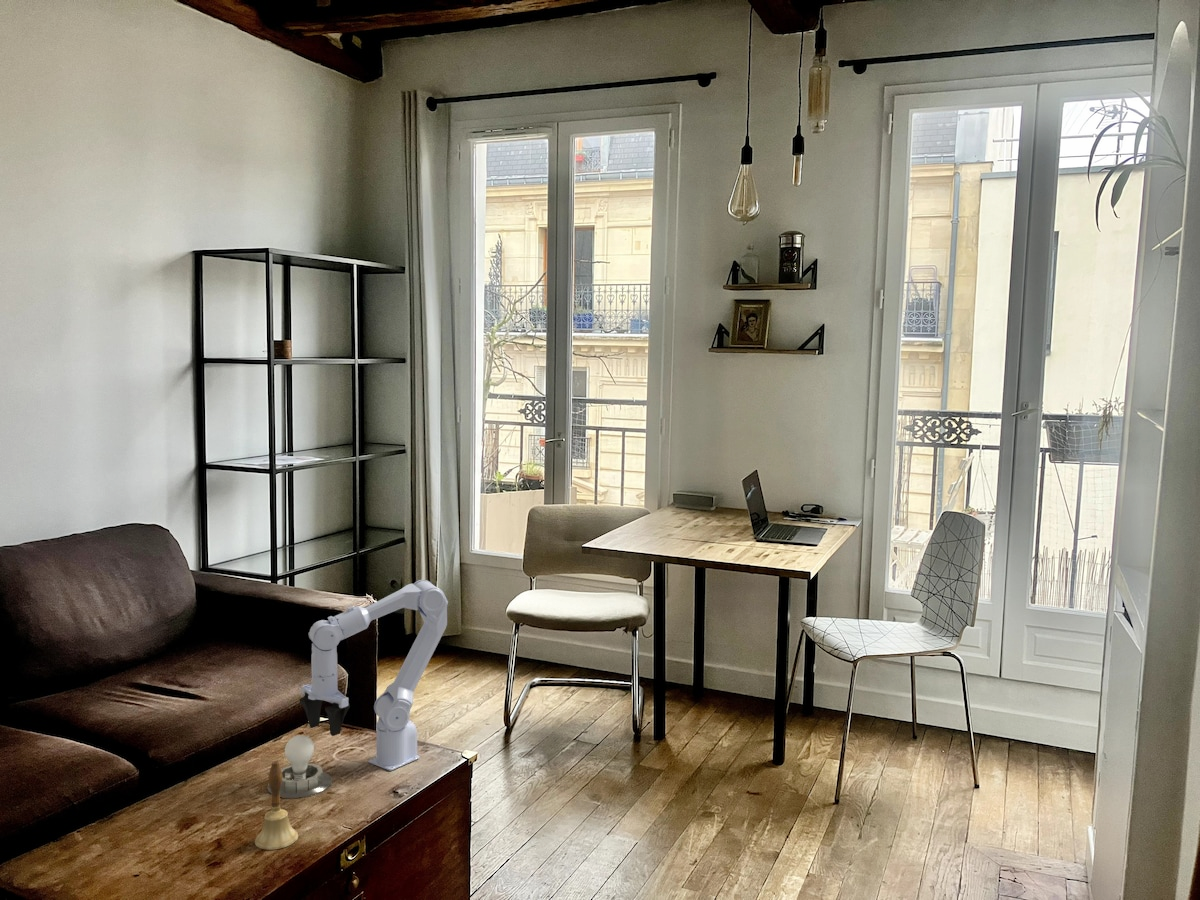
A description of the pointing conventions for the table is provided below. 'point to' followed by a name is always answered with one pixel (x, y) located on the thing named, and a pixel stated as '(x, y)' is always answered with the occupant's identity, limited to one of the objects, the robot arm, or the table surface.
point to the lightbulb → (299, 754)
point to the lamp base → (322, 787)
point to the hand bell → (276, 818)
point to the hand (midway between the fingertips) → (324, 730)
